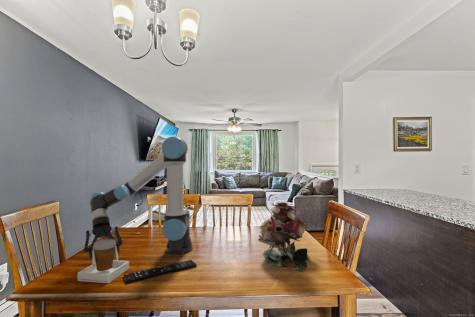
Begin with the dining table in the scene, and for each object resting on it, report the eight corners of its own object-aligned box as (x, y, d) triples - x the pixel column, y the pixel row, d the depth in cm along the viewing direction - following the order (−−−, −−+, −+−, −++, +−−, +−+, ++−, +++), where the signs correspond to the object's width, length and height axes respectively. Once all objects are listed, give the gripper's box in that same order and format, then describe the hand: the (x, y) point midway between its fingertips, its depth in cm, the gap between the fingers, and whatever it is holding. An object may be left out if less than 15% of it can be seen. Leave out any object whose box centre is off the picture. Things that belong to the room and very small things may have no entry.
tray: (129, 268, 120) (129, 261, 120) (108, 283, 105) (108, 274, 106) (101, 266, 122) (101, 259, 122) (77, 280, 108) (77, 272, 108)
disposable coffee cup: (120, 265, 117) (120, 239, 117) (103, 274, 108) (103, 246, 108) (105, 262, 120) (105, 237, 120) (87, 271, 111) (87, 244, 111)
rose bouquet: (307, 251, 142) (306, 198, 143) (308, 273, 114) (308, 208, 115) (262, 247, 149) (262, 197, 149) (253, 267, 120) (253, 205, 121)
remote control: (123, 278, 111) (123, 273, 111) (190, 262, 128) (190, 258, 128) (125, 285, 105) (125, 280, 105) (196, 267, 122) (196, 263, 122)
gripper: (122, 221, 133) (129, 260, 120) (75, 227, 120) (77, 272, 107) (124, 212, 129) (132, 253, 116) (75, 218, 116) (78, 264, 103)
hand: (105, 262), depth 111 cm, fingers closed on disposable coffee cup, 8 cm apart
